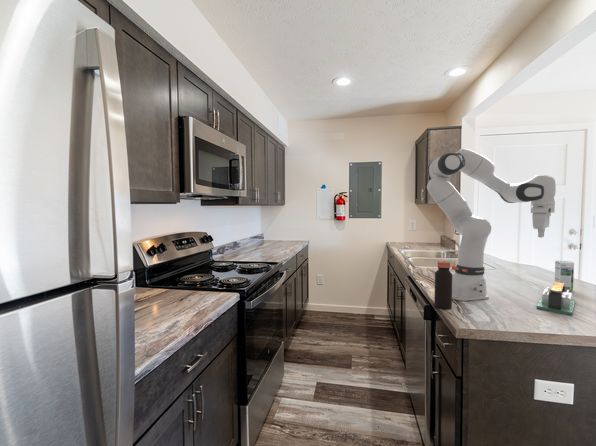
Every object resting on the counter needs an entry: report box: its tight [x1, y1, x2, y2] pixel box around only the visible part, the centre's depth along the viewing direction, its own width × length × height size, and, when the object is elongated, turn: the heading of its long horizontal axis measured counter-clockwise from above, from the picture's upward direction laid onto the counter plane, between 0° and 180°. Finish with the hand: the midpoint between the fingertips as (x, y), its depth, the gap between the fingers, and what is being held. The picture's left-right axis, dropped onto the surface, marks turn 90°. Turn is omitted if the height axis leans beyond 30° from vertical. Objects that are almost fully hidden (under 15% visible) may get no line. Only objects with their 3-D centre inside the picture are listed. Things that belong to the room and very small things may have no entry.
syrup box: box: [554, 260, 575, 291], centre depth 150 cm, size 6×6×14 cm
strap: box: [549, 281, 564, 294], centre depth 126 cm, size 18×4×1 cm, turn 134°
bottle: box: [433, 260, 453, 310], centre depth 125 cm, size 7×7×20 cm
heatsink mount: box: [536, 285, 576, 316], centre depth 126 cm, size 23×11×7 cm, turn 134°
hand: (540, 237), depth 140 cm, fingers closed
